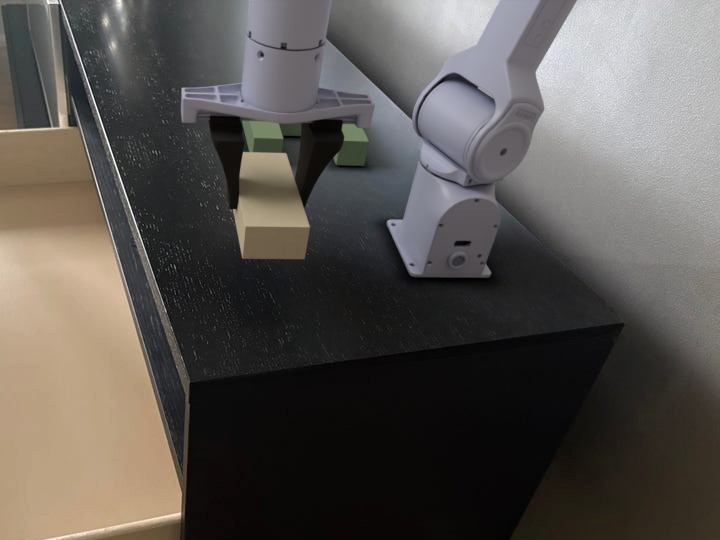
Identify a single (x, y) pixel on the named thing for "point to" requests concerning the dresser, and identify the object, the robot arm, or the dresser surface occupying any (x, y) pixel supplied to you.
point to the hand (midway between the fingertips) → (266, 203)
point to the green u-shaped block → (271, 135)
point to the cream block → (270, 209)
